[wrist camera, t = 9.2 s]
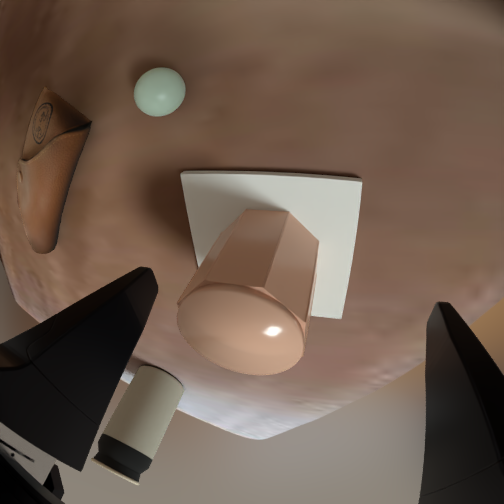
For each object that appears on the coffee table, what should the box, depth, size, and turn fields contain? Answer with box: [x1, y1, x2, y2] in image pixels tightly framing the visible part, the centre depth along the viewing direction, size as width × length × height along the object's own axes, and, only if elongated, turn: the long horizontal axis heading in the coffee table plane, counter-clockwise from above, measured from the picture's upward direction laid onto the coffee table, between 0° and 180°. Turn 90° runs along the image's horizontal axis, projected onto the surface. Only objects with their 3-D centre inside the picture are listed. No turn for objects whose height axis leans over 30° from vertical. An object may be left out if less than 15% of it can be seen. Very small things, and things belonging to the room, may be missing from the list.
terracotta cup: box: [177, 209, 319, 375], centre depth 18 cm, size 7×7×8 cm
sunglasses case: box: [17, 86, 92, 254], centre depth 23 cm, size 18×7×7 cm
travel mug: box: [91, 366, 184, 485], centre depth 35 cm, size 8×8×18 cm
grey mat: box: [180, 171, 362, 319], centre depth 22 cm, size 12×12×1 cm
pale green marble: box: [134, 67, 185, 116], centre depth 15 cm, size 3×3×3 cm
